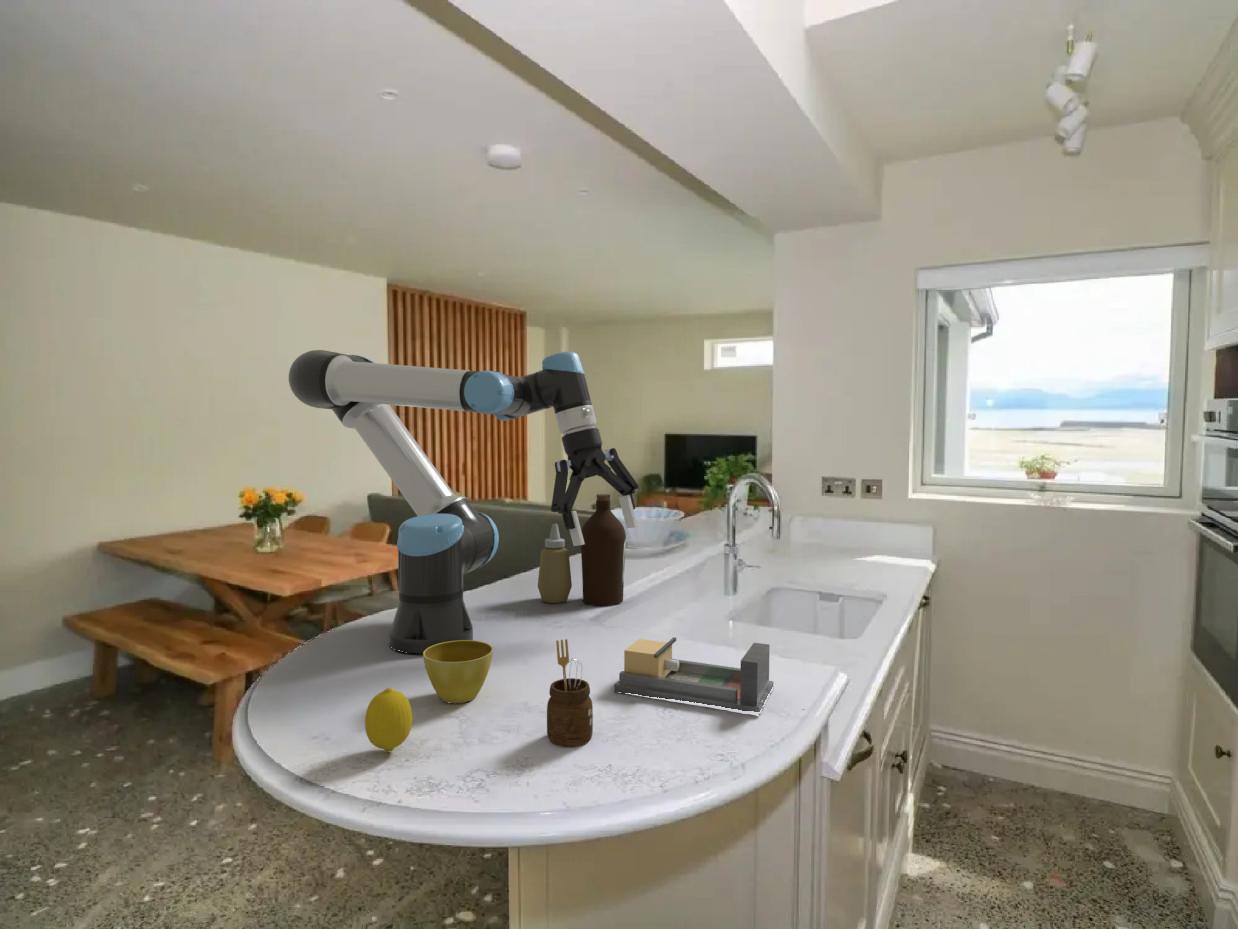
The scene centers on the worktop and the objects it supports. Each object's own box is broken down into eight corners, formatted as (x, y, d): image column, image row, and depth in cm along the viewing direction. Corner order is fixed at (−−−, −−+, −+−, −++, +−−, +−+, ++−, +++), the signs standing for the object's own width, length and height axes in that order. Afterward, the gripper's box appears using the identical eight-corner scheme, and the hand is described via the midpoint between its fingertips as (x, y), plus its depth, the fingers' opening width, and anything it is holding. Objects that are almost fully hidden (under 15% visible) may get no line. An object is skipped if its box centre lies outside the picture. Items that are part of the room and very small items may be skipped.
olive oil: (588, 608, 153) (588, 497, 151) (574, 597, 162) (574, 493, 161) (632, 604, 156) (632, 495, 155) (616, 594, 166) (617, 491, 165)
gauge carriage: (620, 681, 104) (620, 649, 104) (642, 662, 113) (642, 633, 112) (667, 689, 101) (668, 656, 101) (686, 669, 110) (686, 639, 109)
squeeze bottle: (574, 597, 163) (575, 522, 162) (568, 605, 155) (569, 527, 154) (541, 596, 164) (541, 521, 163) (533, 604, 156) (534, 526, 155)
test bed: (614, 692, 104) (614, 645, 103) (640, 669, 114) (640, 626, 113) (759, 716, 95) (759, 665, 95) (773, 689, 105) (774, 643, 105)
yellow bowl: (477, 714, 96) (477, 664, 95) (411, 708, 97) (410, 659, 97) (502, 687, 106) (502, 642, 105) (441, 683, 107) (441, 638, 107)
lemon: (372, 742, 87) (371, 680, 86) (416, 741, 87) (416, 679, 87) (359, 763, 81) (358, 697, 81) (407, 761, 82) (406, 696, 81)
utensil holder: (555, 752, 84) (555, 656, 84) (540, 732, 90) (540, 642, 89) (599, 744, 87) (599, 650, 86) (582, 724, 92) (582, 637, 92)
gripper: (536, 437, 123) (566, 551, 123) (638, 417, 139) (664, 518, 138) (515, 445, 129) (544, 554, 128) (615, 425, 144) (640, 522, 144)
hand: (606, 536), depth 133 cm, fingers open, 13 cm apart
